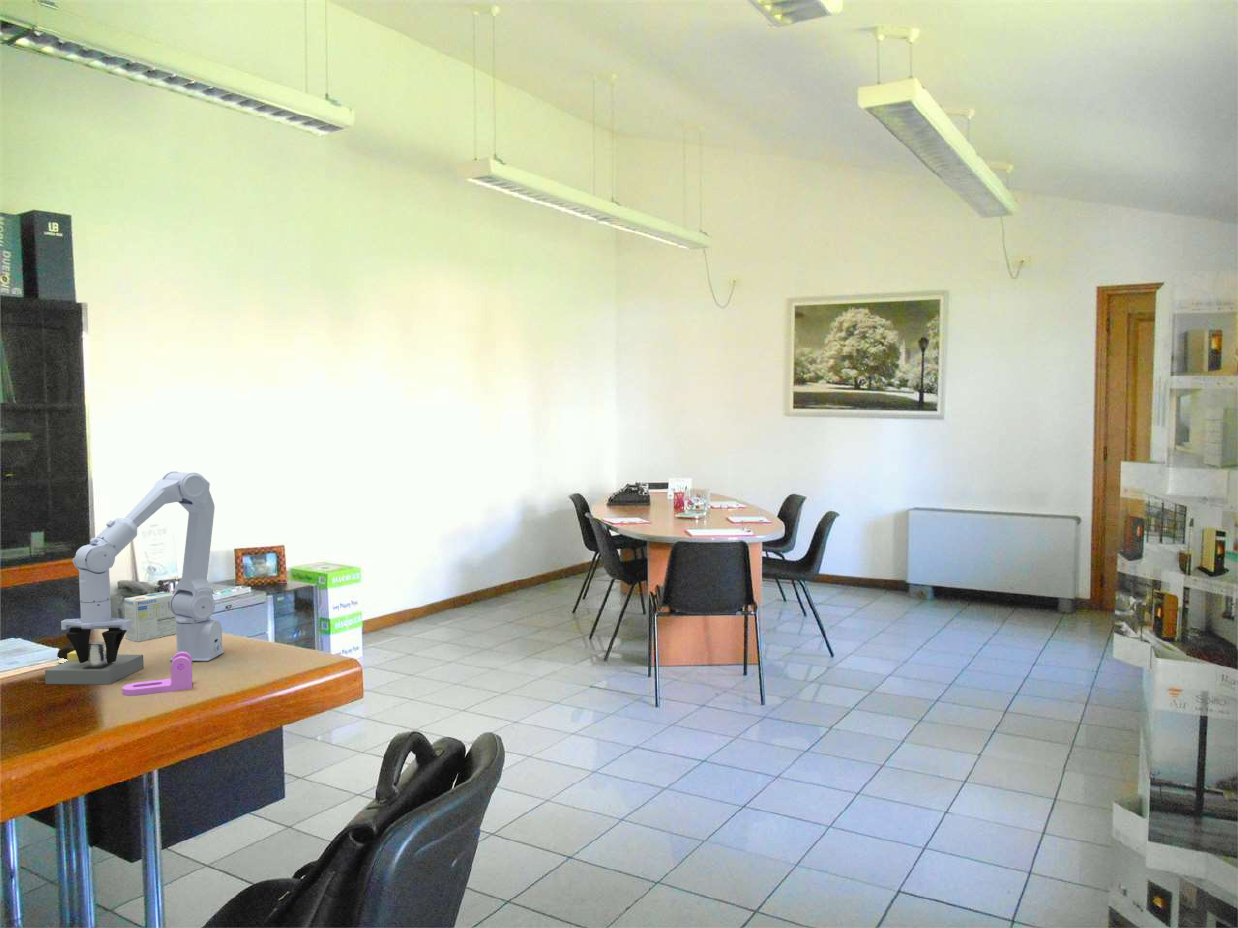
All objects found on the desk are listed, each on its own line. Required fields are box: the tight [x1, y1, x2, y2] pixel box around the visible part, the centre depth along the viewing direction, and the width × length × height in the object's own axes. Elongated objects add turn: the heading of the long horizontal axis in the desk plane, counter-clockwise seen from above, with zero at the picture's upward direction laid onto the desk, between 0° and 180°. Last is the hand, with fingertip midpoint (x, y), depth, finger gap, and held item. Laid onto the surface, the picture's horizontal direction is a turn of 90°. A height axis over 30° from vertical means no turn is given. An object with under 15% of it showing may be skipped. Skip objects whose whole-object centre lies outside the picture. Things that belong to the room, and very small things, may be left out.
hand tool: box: [56, 641, 75, 659], centre depth 220 cm, size 19×4×5 cm, turn 17°
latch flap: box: [67, 648, 106, 661], centre depth 204 cm, size 8×4×2 cm, turn 87°
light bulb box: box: [123, 591, 176, 643], centre depth 236 cm, size 11×7×11 cm, turn 144°
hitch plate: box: [44, 653, 145, 686], centre depth 201 cm, size 14×13×3 cm
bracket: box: [121, 652, 193, 697], centre depth 190 cm, size 13×6×7 cm, turn 113°
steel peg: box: [89, 641, 106, 669], centre depth 197 cm, size 3×3×8 cm
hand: (97, 661), depth 197 cm, fingers open, 6 cm apart
